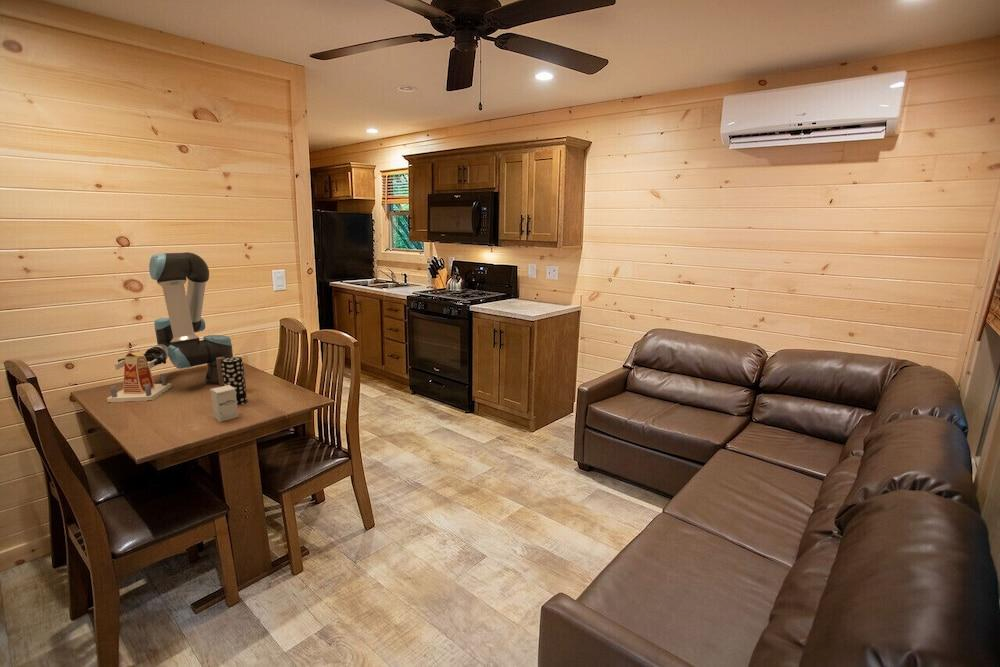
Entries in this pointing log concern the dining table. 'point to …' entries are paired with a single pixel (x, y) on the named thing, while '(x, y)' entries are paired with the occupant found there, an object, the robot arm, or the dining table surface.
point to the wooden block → (221, 371)
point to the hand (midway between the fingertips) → (132, 366)
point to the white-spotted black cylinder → (234, 377)
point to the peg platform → (140, 397)
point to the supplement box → (224, 403)
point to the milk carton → (136, 373)
